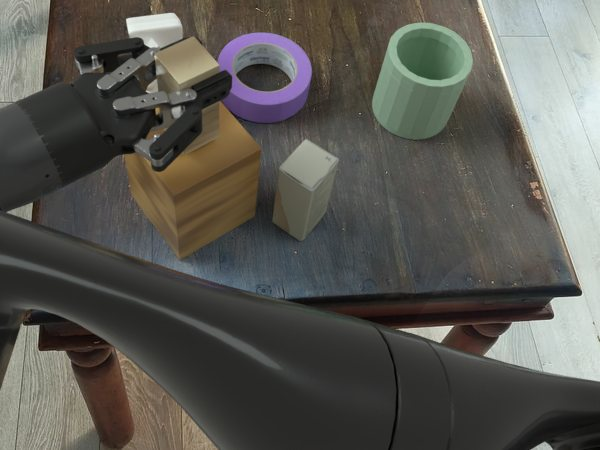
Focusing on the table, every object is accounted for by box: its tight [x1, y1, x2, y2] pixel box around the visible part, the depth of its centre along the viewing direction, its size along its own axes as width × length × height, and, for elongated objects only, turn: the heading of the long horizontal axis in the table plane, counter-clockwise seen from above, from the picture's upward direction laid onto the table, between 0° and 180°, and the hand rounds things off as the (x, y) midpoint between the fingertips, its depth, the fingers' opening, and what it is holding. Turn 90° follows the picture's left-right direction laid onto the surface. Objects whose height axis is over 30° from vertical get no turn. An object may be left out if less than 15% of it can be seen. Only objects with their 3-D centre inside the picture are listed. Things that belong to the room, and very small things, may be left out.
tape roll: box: [217, 32, 313, 124], centre depth 88 cm, size 12×12×4 cm
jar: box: [371, 22, 474, 141], centre depth 86 cm, size 10×10×10 cm
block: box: [154, 35, 220, 155], centre depth 64 cm, size 4×4×10 cm
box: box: [271, 138, 340, 242], centre depth 76 cm, size 5×4×11 cm
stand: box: [123, 100, 262, 261], centre depth 74 cm, size 10×10×13 cm
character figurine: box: [125, 12, 184, 94], centre depth 82 cm, size 9×10×12 cm
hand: (213, 62), depth 62 cm, fingers closed on block, 4 cm apart
